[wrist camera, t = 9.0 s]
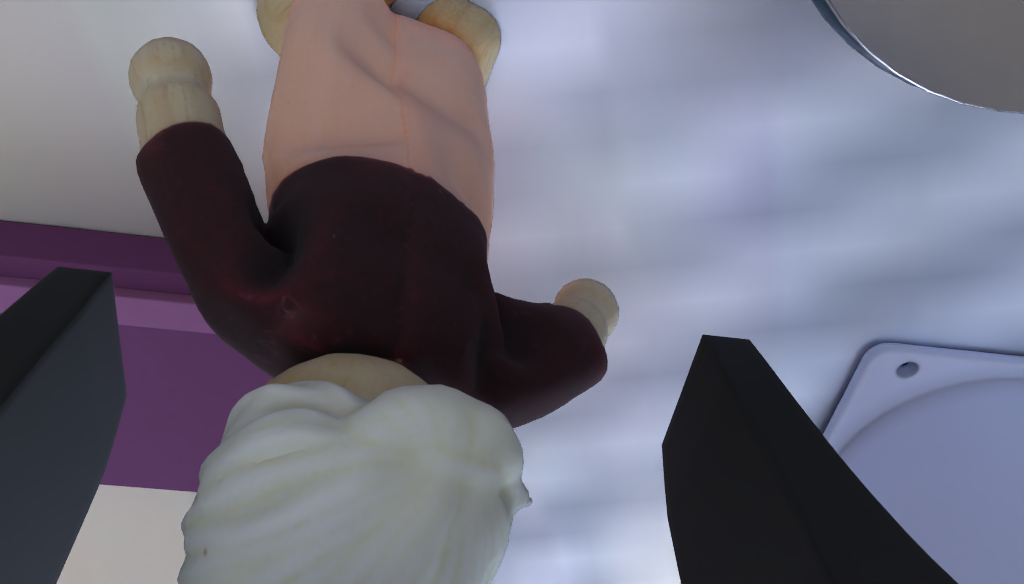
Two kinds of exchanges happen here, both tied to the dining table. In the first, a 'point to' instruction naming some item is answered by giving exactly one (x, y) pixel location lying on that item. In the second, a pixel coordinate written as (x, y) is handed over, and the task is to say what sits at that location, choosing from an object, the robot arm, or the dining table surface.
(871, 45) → the tin can
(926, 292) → the dining table surface
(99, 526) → the dining table surface
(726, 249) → the dining table surface
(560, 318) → the grandmother figurine
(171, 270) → the purple box
